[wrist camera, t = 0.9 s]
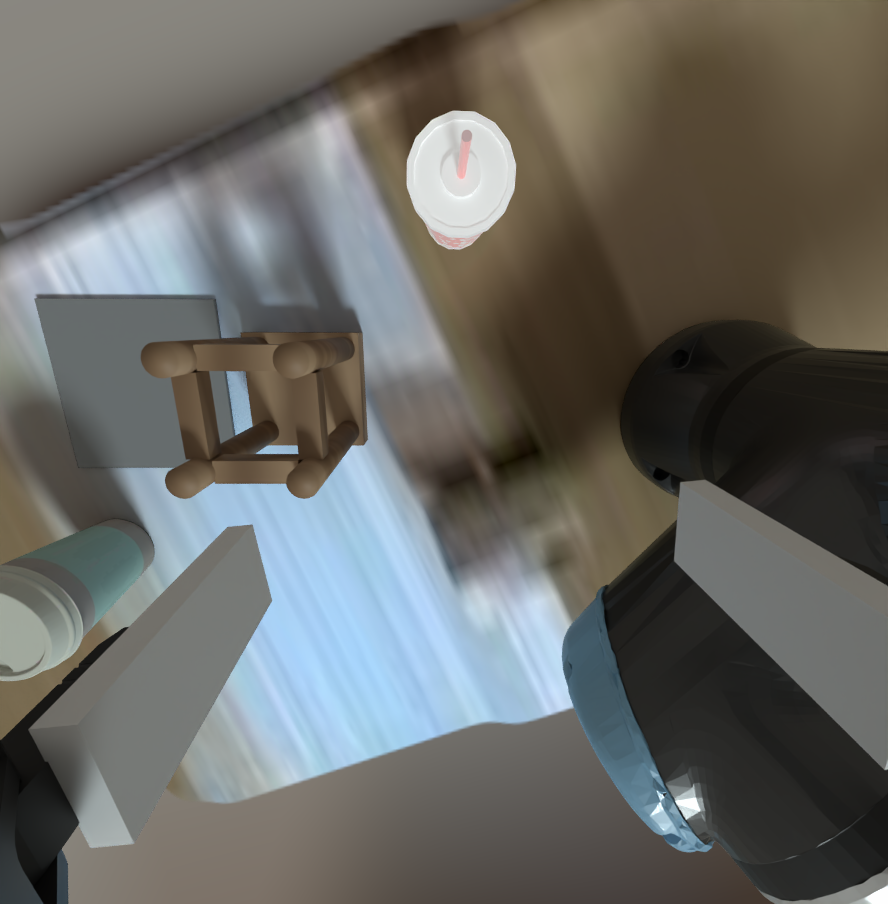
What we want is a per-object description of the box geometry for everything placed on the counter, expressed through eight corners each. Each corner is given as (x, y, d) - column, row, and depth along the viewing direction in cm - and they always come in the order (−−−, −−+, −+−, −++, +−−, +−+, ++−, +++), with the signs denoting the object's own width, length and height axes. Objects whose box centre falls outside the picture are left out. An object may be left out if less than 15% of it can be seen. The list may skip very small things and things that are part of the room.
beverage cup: (422, 266, 33) (411, 224, 19) (408, 178, 31) (384, 65, 18) (500, 253, 33) (542, 201, 19) (490, 163, 31) (528, 36, 17)
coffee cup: (61, 511, 38) (-100, 590, 27) (152, 499, 38) (28, 574, 27) (96, 591, 41) (-39, 694, 29) (181, 580, 41) (79, 680, 29)
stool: (362, 332, 34) (312, 336, 21) (367, 439, 37) (326, 503, 23) (251, 332, 34) (130, 335, 21) (264, 439, 37) (164, 503, 23)
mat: (215, 299, 33) (213, 299, 33) (239, 466, 37) (238, 467, 37) (37, 298, 33) (34, 298, 33) (81, 466, 37) (78, 467, 37)
